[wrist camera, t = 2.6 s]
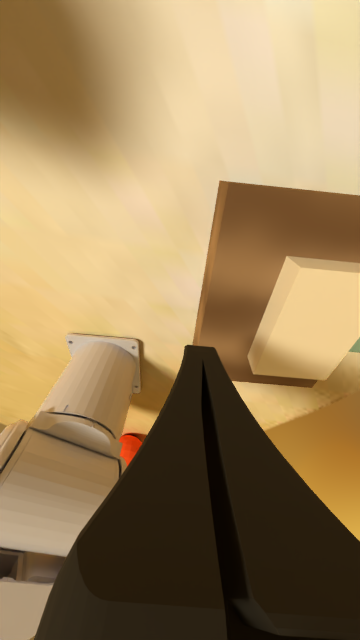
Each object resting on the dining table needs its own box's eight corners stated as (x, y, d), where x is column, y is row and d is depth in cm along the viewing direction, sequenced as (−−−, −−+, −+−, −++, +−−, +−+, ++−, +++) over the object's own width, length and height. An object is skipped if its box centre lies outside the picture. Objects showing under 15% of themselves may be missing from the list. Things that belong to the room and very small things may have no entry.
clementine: (161, 442, 37) (156, 491, 31) (134, 451, 40) (124, 498, 34) (129, 423, 33) (117, 474, 28) (102, 434, 36) (85, 484, 30)
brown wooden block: (294, 358, 24) (311, 387, 20) (191, 349, 23) (192, 377, 20) (388, 198, 14) (448, 205, 11) (219, 180, 14) (228, 182, 11)
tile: (313, 362, 18) (325, 380, 17) (247, 356, 18) (253, 374, 16) (378, 265, 13) (406, 277, 11) (286, 255, 13) (300, 267, 11)
